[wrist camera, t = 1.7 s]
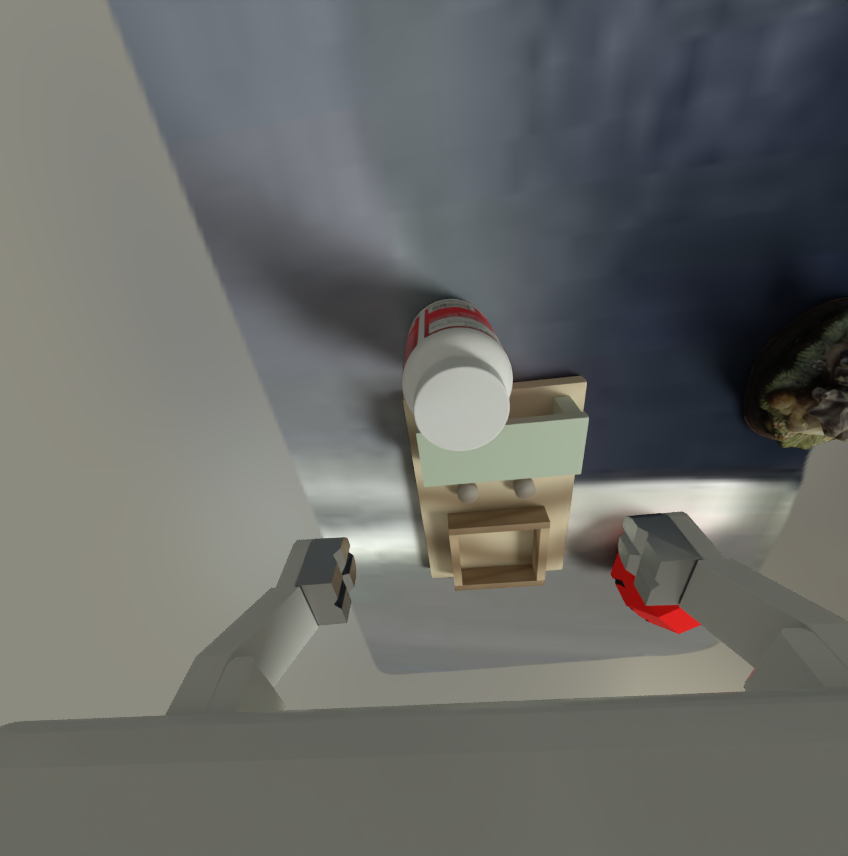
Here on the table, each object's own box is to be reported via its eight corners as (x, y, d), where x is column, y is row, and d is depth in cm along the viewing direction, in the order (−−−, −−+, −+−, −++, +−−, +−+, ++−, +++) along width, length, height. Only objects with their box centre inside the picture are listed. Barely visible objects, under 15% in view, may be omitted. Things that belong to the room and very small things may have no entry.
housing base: (403, 393, 29) (401, 413, 26) (581, 375, 28) (597, 393, 25) (432, 568, 40) (432, 594, 38) (558, 560, 39) (568, 586, 37)
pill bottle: (441, 392, 29) (447, 482, 19) (390, 333, 26) (370, 403, 17) (507, 345, 27) (550, 420, 17) (459, 277, 24) (479, 321, 15)
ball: (591, 548, 38) (624, 617, 32) (661, 508, 35) (714, 576, 29) (630, 580, 41) (668, 650, 35) (698, 546, 38) (754, 616, 32)
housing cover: (417, 411, 28) (416, 433, 25) (572, 395, 27) (588, 417, 25) (424, 461, 31) (424, 487, 28) (566, 449, 30) (580, 474, 27)
